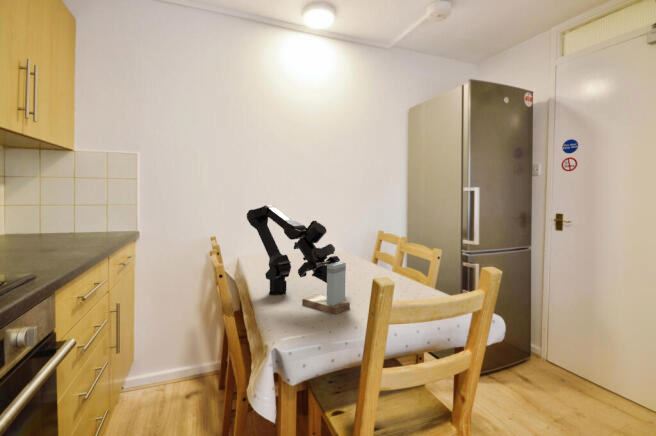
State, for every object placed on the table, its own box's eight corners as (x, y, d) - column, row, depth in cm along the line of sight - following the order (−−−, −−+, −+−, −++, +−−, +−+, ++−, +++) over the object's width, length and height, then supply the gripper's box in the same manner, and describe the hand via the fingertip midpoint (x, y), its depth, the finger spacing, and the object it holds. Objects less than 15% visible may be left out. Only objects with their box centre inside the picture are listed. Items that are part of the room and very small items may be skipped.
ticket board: (302, 304, 114) (302, 298, 114) (316, 299, 120) (316, 293, 120) (336, 314, 104) (336, 308, 104) (349, 308, 110) (349, 302, 110)
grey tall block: (326, 303, 107) (326, 264, 106) (338, 299, 113) (338, 261, 112) (333, 305, 105) (333, 265, 105) (345, 300, 111) (345, 262, 110)
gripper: (303, 239, 105) (328, 276, 99) (336, 235, 120) (359, 267, 113) (287, 259, 110) (310, 295, 104) (320, 252, 125) (342, 284, 119)
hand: (332, 284), depth 110 cm, fingers closed
